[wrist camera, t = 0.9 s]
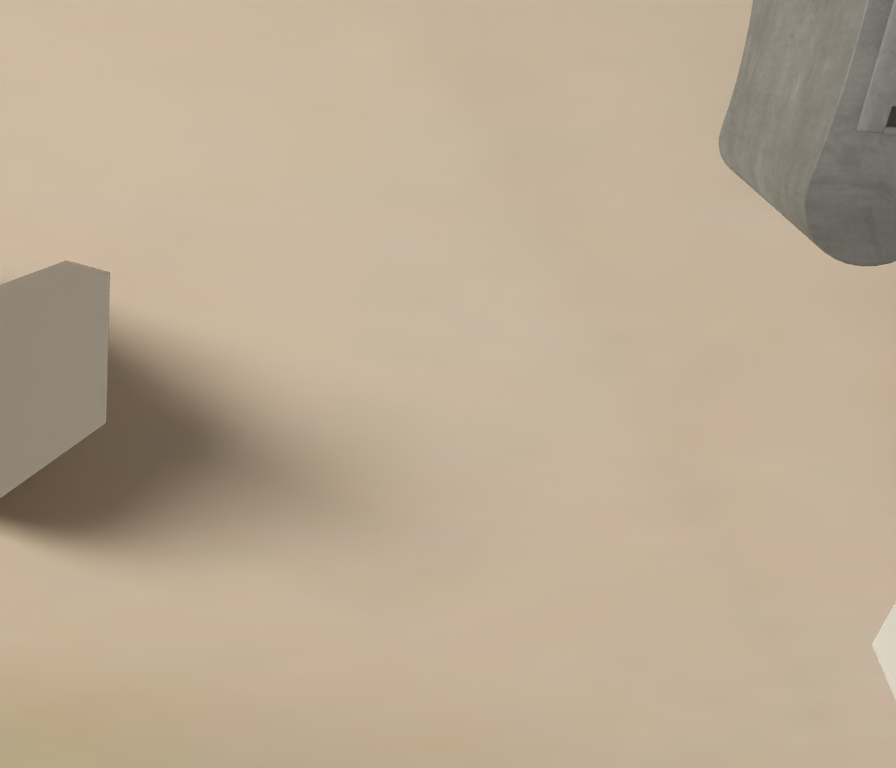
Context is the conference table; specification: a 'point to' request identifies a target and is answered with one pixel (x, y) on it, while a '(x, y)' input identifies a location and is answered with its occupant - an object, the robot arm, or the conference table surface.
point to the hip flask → (821, 121)
